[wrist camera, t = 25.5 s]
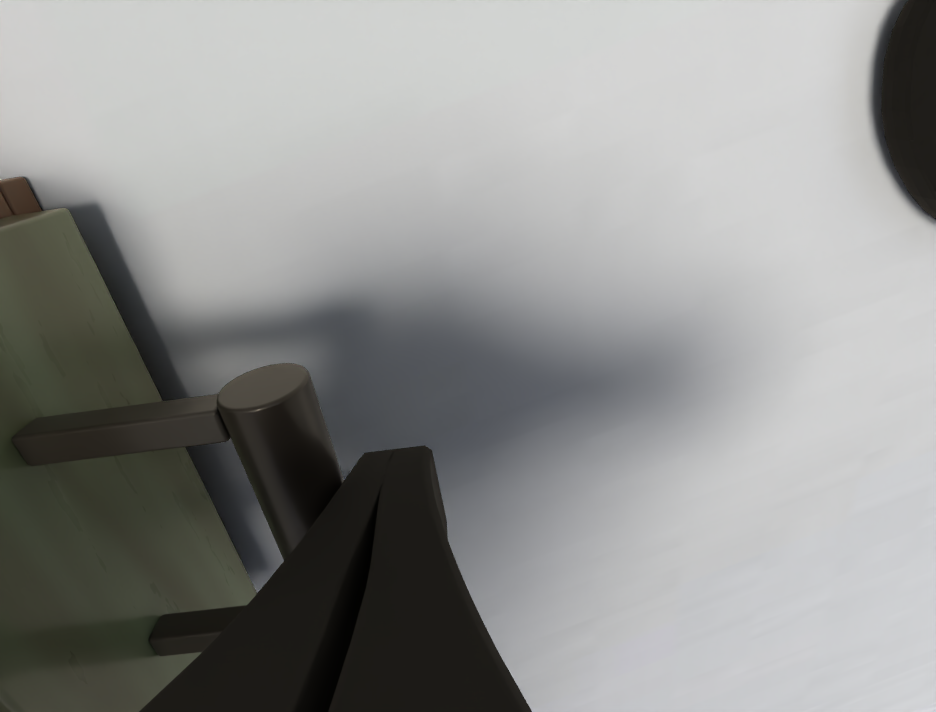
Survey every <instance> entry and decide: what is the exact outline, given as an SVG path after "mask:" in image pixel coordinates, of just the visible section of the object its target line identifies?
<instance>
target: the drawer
mask: <svg viewBox="0 0 936 712" xmlns="http://www.w3.org/2000/svg"><path fill="white" fill-rule="evenodd" d="M230 438H231V439H232V442H233V444H234V446H235V449H236V451H237V453H238V456H239V458H240V460H241V462H242V465H243V467H244V469H245V472H246V474H247V476H248V479H249V481H250V483H251V485H252V488H253V490H254V492H255V495H256V497H257V499H258V502H259V504H260V506H261V508H262V511H263V513H264V515H265V518H266V520H267V522H268V525H269V527H270V529H271V531H272V534H273V536H274V538H275V541H276V543H277V545H278V548H279V550H280V552H281V554H282V557H283V559H284V561H285V560H286V558H287V557H288V556H289V555H290V553H291V552H292V551H293V550H294V549H295V547H296V546H297V545H298V543H299V542H300V541H301V540H302V538H303V537H304V536H305V534H306V533H307V532H308V530H309V529H310V528H311V526H312V525H313V524H314V522H315V521H316V520H317V518H318V517H319V516H320V514H321V513H322V512H323V510H324V509H325V507H326V506H327V505H328V503H329V502H330V500H331V499H332V498H333V496H334V495H335V493H336V492H337V491H338V489H339V488H340V486H341V485H342V483H343V482H344V479H343V476H342V473H341V470H340V466H339V463H338V460H337V457H336V454H335V451H334V448H333V445H332V442H331V439H330V436H329V432H328V429H327V426H326V423H325V420H324V417H323V414H322V411H321V408H320V405H319V401H318V398H317V395H316V392H315V389H314V386H313V383H312V380H311V377H310V374H309V372H308V371H307V370H306V369H305V368H304V367H303V366H301V365H297V364H292V363H282V364H274V365H269V366H264V367H261V368H258V369H254V370H252V371H249V372H247V373H245V374H243V375H241V376H239V377H237V378H235V379H234V380H232V381H230V382H229V383H228V384H227V385H225V386H224V387H223V388H222V389H221V390H220V392H219V393H218V394H214V395H207V396H199V397H191V398H183V399H176V400H168V401H162V398H161V396H160V394H159V392H158V390H157V388H156V386H155V384H154V382H153V380H152V378H151V376H150V374H149V372H148V370H147V368H146V366H145V364H144V362H143V360H142V358H141V356H140V354H139V352H138V350H137V348H136V346H135V343H134V341H133V339H132V337H131V335H130V333H129V331H128V329H127V327H126V325H125V323H124V321H123V319H122V317H121V315H120V313H119V311H118V309H117V307H116V305H115V303H114V301H113V299H112V297H111V295H110V293H109V290H108V288H107V286H106V284H105V282H104V280H103V278H102V276H101V274H100V272H99V270H98V268H97V266H96V264H95V262H94V260H93V258H92V256H91V254H90V252H89V250H88V248H87V246H86V244H85V242H84V240H83V238H82V235H81V233H80V231H79V229H78V227H77V225H76V223H75V221H74V219H73V217H72V215H71V213H70V211H69V210H68V209H64V208H60V209H53V210H46V211H40V212H33V213H26V214H19V215H13V216H8V217H5V218H1V219H0V712H139V711H140V710H141V709H142V708H143V707H144V706H145V705H147V704H148V703H149V702H150V701H151V700H152V699H153V698H154V697H155V696H156V695H157V694H158V693H159V692H160V691H161V690H163V689H164V688H165V687H166V686H167V685H168V684H169V683H170V682H171V681H172V680H173V679H174V678H175V677H176V676H177V675H179V674H180V673H181V672H182V671H183V670H184V669H185V668H186V667H187V666H188V665H189V664H190V663H191V662H192V661H193V660H195V659H196V658H197V657H198V656H199V655H200V654H201V653H202V652H203V651H204V650H205V649H206V648H207V647H208V646H209V645H210V644H211V643H212V642H213V641H214V640H215V639H216V638H217V637H218V636H219V634H220V633H221V632H222V631H223V630H224V629H225V628H226V627H227V626H228V625H229V624H230V623H231V622H232V621H233V620H234V619H235V618H236V617H237V616H238V614H239V613H240V612H241V611H242V610H243V609H244V608H245V607H246V606H247V605H248V603H249V602H250V601H251V600H252V599H253V598H254V597H255V595H256V594H257V592H256V590H255V588H254V586H253V584H252V582H251V580H250V578H249V576H248V574H247V572H246V570H245V568H244V566H243V564H242V561H241V559H240V557H239V555H238V553H237V551H236V549H235V547H234V545H233V543H232V541H231V539H230V537H229V535H228V533H227V531H226V529H225V527H224V525H223V523H222V521H221V519H220V517H219V515H218V513H217V511H216V509H215V506H214V504H213V502H212V500H211V498H210V496H209V494H208V492H207V490H206V488H205V486H204V484H203V482H202V480H201V478H200V476H199V474H198V472H197V470H196V468H195V466H194V464H193V462H192V460H191V458H190V456H189V453H188V451H187V449H186V447H189V446H197V445H205V444H213V443H221V442H226V441H228V440H229V439H230Z"/></svg>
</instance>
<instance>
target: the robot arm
mask: <svg viewBox="0 0 936 712" xmlns="http://www.w3.org/2000/svg"><path fill="white" fill-rule="evenodd" d="M139 712H532V711H531V709H530V707H529V706H528V704H527V702H526V700H525V699H524V697H523V695H522V693H521V692H520V690H519V688H518V686H517V684H516V683H515V681H514V679H513V677H512V676H511V674H510V672H509V670H508V669H507V667H506V665H505V663H504V661H503V660H502V658H501V656H500V654H499V653H498V651H497V649H496V647H495V645H494V643H493V641H492V639H491V637H490V635H489V633H488V631H487V629H486V627H485V625H484V623H483V621H482V619H481V617H480V615H479V613H478V611H477V609H476V606H475V604H474V602H473V600H472V598H471V596H470V594H469V591H468V589H467V587H466V585H465V582H464V580H463V578H462V575H461V573H460V570H459V568H458V565H457V563H456V560H455V558H454V555H453V553H452V550H451V547H450V545H449V542H448V536H447V521H446V516H445V511H444V506H443V501H442V497H441V492H440V487H439V482H438V477H437V473H436V468H435V463H434V458H433V454H432V450H431V449H429V448H428V447H426V446H417V447H409V448H401V449H392V450H384V451H376V452H367V453H364V454H363V455H362V457H361V458H360V459H359V461H358V462H357V463H356V465H355V466H354V468H353V469H352V471H351V472H350V473H349V475H348V476H347V478H346V479H345V481H344V482H343V483H342V485H341V486H340V488H339V489H338V491H337V492H336V493H335V495H334V496H333V498H332V499H331V500H330V502H329V503H328V505H327V506H326V507H325V509H324V510H323V512H322V513H321V514H320V516H319V517H318V518H317V520H316V521H315V522H314V524H313V525H312V526H311V528H310V529H309V530H308V532H307V533H306V534H305V536H304V537H303V538H302V540H301V541H300V542H299V543H298V545H297V546H296V547H295V549H294V550H293V551H292V552H291V553H290V555H289V556H288V557H287V558H286V560H285V561H284V562H283V563H282V564H281V566H280V567H279V568H278V569H277V570H276V572H275V573H274V574H273V575H272V577H271V578H270V579H269V580H268V581H267V583H266V584H265V585H264V586H263V587H262V589H261V590H260V591H259V592H258V593H257V594H256V595H255V597H254V598H253V599H252V600H251V601H250V602H249V603H248V605H247V606H246V607H245V608H244V609H243V610H242V611H241V612H240V613H239V614H238V616H237V617H236V618H235V619H234V620H233V621H232V622H231V623H230V624H229V625H228V626H227V627H226V628H225V629H224V630H223V631H222V632H221V633H220V634H219V636H218V637H217V638H216V639H215V640H214V641H213V642H212V643H211V644H210V645H209V646H208V647H207V648H206V649H205V650H204V651H203V652H202V653H201V654H200V655H199V656H198V657H197V658H196V659H195V660H193V661H192V662H191V663H190V664H189V665H188V666H187V667H186V668H185V669H184V670H183V671H182V672H181V673H180V674H179V675H177V676H176V677H175V678H174V679H173V680H172V681H171V682H170V683H169V684H168V685H167V686H166V687H165V688H164V689H163V690H161V691H160V692H159V693H158V694H157V695H156V696H155V697H154V698H153V699H152V700H151V701H150V702H149V703H148V704H147V705H145V706H144V707H143V708H142V709H141V710H140V711H139Z"/></svg>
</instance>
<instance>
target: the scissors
mask: <svg viewBox="0 0 936 712" xmlns="http://www.w3.org/2000/svg"><path fill="white" fill-rule="evenodd" d="M881 111H882V118H883V126H884V133H885V139H886V142H887V145H888V148H889V151H890V154H891V157H892V160H893V164H894V166H895V167H896V169H897V171H898V173H899V175H900V177H901V179H902V180H903V182H904V184H905V186H906V188H907V190H908V192H909V193H910V194H911V196H912V197H913V198H914V199H915V200H916V201H917V203H918V204H919V205H920V206H921V207H922V209H923V210H924V211H926V212H927V213H928V214H930V215H931V216H932V217H934V218H935V219H936V0H908V2H907V3H906V4H905V5H904V7H903V9H902V11H901V13H900V15H899V17H898V19H897V21H896V24H895V26H894V28H893V30H892V33H891V37H890V41H889V45H888V48H887V52H886V56H885V60H884V70H883V83H882V109H881Z"/></svg>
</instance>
